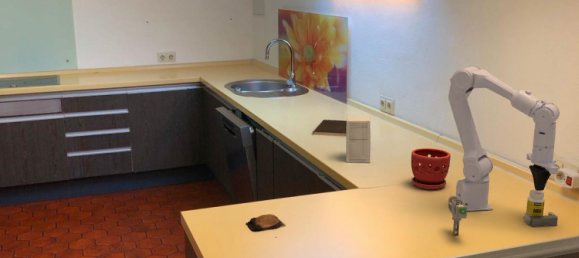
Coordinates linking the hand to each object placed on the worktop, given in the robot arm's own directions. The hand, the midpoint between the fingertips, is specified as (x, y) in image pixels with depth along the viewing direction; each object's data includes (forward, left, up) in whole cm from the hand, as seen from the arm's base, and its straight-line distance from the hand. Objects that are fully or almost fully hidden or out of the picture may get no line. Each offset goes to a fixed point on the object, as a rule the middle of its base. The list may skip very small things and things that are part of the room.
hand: (539, 189), depth 183 cm
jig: (0, -3, -9) cm, 10 cm away
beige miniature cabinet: (-40, +67, -10) cm, 78 cm away
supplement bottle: (0, +1, -10) cm, 10 cm away
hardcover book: (-40, +115, -10) cm, 122 cm away
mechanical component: (-28, -7, -10) cm, 30 cm away
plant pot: (-22, +34, -10) cm, 41 cm away
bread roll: (-81, +7, -10) cm, 81 cm away
